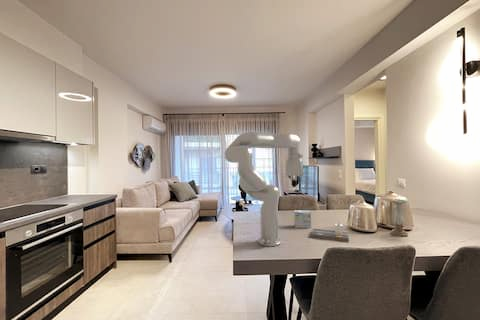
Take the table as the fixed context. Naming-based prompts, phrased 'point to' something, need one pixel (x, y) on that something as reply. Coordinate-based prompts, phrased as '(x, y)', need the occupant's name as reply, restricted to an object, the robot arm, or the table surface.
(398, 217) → the candle holder
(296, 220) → the light bulb box
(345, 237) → the switch board
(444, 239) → the table surface
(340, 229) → the switch tab
